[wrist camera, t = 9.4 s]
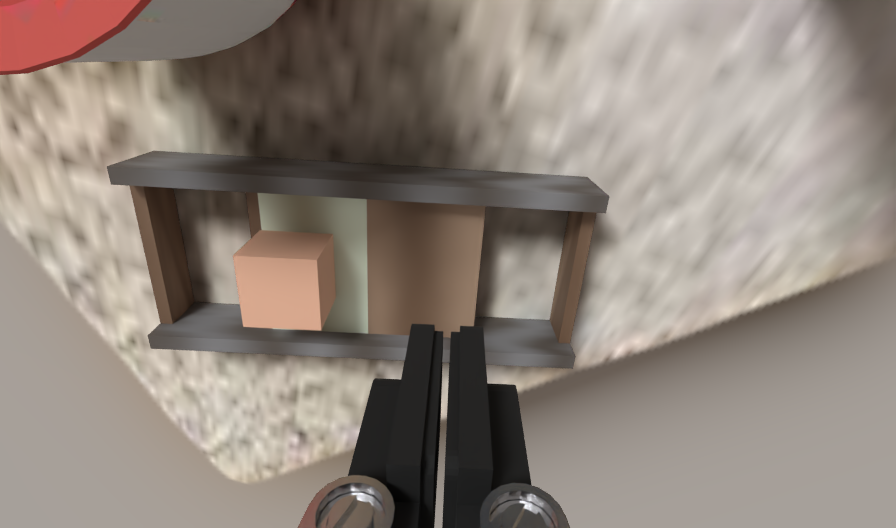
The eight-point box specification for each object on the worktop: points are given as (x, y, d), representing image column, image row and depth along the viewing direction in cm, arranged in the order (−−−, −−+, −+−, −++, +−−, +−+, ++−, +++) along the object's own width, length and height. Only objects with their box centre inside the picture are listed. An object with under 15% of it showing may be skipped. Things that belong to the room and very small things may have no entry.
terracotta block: (333, 233, 29) (316, 260, 25) (335, 297, 31) (321, 330, 27) (259, 230, 29) (233, 255, 25) (267, 294, 31) (243, 326, 27)
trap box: (587, 177, 30) (609, 196, 26) (557, 332, 35) (572, 368, 31) (153, 150, 30) (106, 166, 26) (185, 313, 35) (150, 348, 30)
